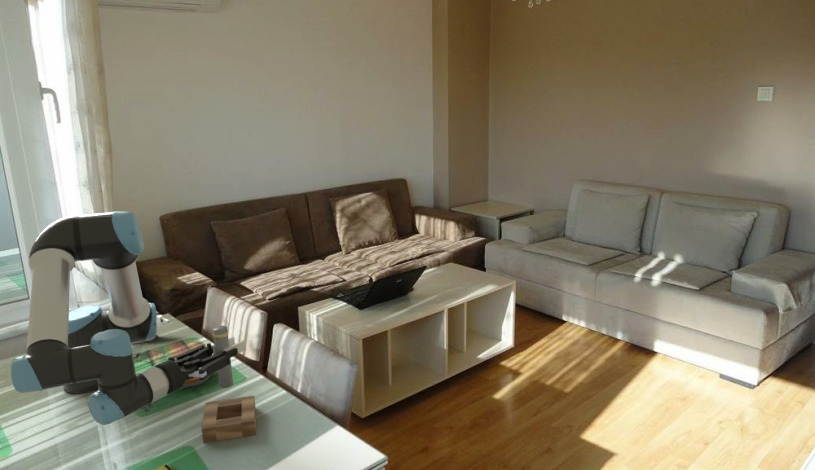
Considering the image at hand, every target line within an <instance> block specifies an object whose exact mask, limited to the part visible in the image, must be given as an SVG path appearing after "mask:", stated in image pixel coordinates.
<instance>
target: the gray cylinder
mask: <svg viewBox="0 0 815 470" xmlns="http://www.w3.org/2000/svg"><path fill="white" fill-rule="evenodd" d="M228 338H229V329H228V326H227V325H217V326H215V327H213V328H212V339H213V345H214V347H215V354H218V353H221V352H223V349H226V348H228V347H229V340H228ZM231 358H232V357H231ZM231 358H230V364H229V365H227V366H225V367H224V368H222V369H220V370H218V371H216V372H217V380H218V387H219V388H221V389H228V388H230V387H232V386H233V385H234V379H233V370H232V369H233V368H232V359H231Z"/></svg>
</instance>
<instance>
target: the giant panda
mask: <svg viewBox="0 0 815 470" xmlns="http://www.w3.org/2000/svg"><path fill="white" fill-rule="evenodd" d="M156 318H157V321H156V322H157V323H156V324H157V329H161V328H163V327H164V326H166V325H168V324H169V323H170V319H168V318H166V317H164V316H163V315H162V314H159V313H157V312H156ZM155 338H159V335H158V334H156V337H155ZM155 338H154V339H152V340H148V341H147V342H148V343H152V342H155V341H156V339H155Z"/></svg>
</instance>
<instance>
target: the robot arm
mask: <svg viewBox="0 0 815 470" xmlns="http://www.w3.org/2000/svg"><path fill="white" fill-rule="evenodd" d="M141 228H142V227H141V225H140V222H139V219H138V217H137V215H136V214H135V213H134V212H132V211H129V210H126V211H125V210H124V211H122V210H121V211H120V210H119V211H118V210H115V211H110V212H109V211H108V212H100V213H92V214H89V213H88V214H81V215H80V214H79V215H69V216H65V217H61V218H59V219H57V220H56V221H54V222H52V223H50V224H49V225H48V226H47V227H46V228H45V229H43V230H42V232H41V233H40V234H39V235H38V236H37V237H36V239H35V240H34V242H33V244H32V246H31V248H30V251H29V256H28V266H29V269H30V270H31V271H32V278H31V279H32V281H31V292H30V304H29V315H28V316H29V317H28V326H27V328H28V329H27V339H26V354H24V355H21V356H16V357H15V358H13V360H12V362H11V364H10V377H11V382H12V386H13V388H14V389H15V391H16V392H18V393H20V394H24V393H33V392H42V391H43V390H49V389H55V388H60V387H63V389H64V391H65V392H67V393H71V394H84V393H85V394H87V393H91V394H90V395H89V396H88V399H87V400H88V401H87V407H88V411H89V413H90V415H91V417H92V418H93V420H94V421H95V422H96V423H98V424H100V425H103V426H107V425H109V424H112V423H114V422H116V421H119V420H121V419H124V418H125V417H127V416H128V415H131V414H133V413H134V412H137V411H138V410H140V409H142V408H144V407H146V406H149V405H150V404H154V402H156V401H158V400H159V399H162V398H164V397H166V396H167V395H171V394H173V393H174V392H176V391H177V392H178V391H179V390H180V389H182V388H181V387H182V386H183V384H184V382H185V381H186V380H189V379H193V378H194V377H199V378H200V380H205V379H206V378H207V377H208V376H209V375H210V376H212V375H213V374H215V373H216V372H217V371H218V370H220V369H222V368H224V367H225V366H227V365H229V364H230V358H234V357H235V356H237V355H239V354H241V353H243V352H245V351H246V350H247V347H246V346H247V345H246V340H244V339H243V340H240V341H238V342H236V341H235V337H234V336H231V337H228V340H229V347H228V348H226V349H223V352H221V353H218V354H215V347H214V344H212V343H210V342H209V343H206V346H205V344H204V345H199V346H197V347H193V348H192V349H190V350H188V351H185V352H182V353H180V354H178V355H174V356H170V357H168V358H167V359H166V360H164V361H162V362H160V363H158V364H155V365H154V366H150V367H148V368H146V369H144V370H142V371H140V372H137V373H136V366H135V357H134V352H133V351H134V350H133V347H132V345H133V344H137V343H138V344H139V343H145V342H148V340H152V339H155V337H156V335H157V334H158V331H157V329H158V328H157V324H156V323H157V322H156V321H157V318H156V314H157V309H156V305H155V303H154V302H149V301H148V299H146V298H144V297H143V293H142V289H141V288H142V287H141V282H140V278H139V277H140V276H139V273H138V268H137V263H136V261H137V260H138V258H139V256H140V255H141V254H142V253H144V252H145V242H144V237H143V232H142V229H141ZM91 260H92V262H93V263H94V264H95V266H97V268H100V269H101V272H102V276H103V278H104V282H105V287H106V290H107V295H108V296H109V301H110V306H109V308H108V309H102V308H101V306H100V305H98V304H96V305H94V304H93V305H90V304H89V305H86V306H82V307H81V306H80V307H79V308H76V309H73V310H71V311H70V290H71V289H70V287H71V286H70V285H71V282H70V281H71V272H72V271H73V269H74V268H75V265H76V262H84V261H91ZM92 392H93V393H92Z"/></svg>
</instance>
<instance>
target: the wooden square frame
mask: <svg viewBox="0 0 815 470" xmlns="http://www.w3.org/2000/svg"><path fill="white" fill-rule="evenodd" d="M256 408H257V407H256V398H255V395H250V396H249V395H248V396H243V397H236V398H235V397H234V398H229V399H222V400H215V401H208V402H207V401H206V402H205V404H204V412H203V417H202V425H201V434H202V443H203V444H204V443H210V442H211V443H212V442H216V441H223V440H225V441H226V440H230V439H236V438H245V437H250V436H256V434H257V433H256V432H257V430H256V429H257V427H256V425H257V423H256V419H257V416H256V413H257V412H256V411H257V410H256Z"/></svg>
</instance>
